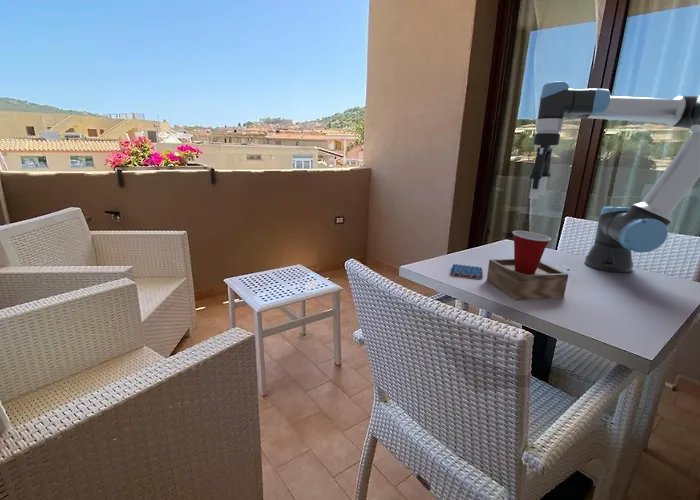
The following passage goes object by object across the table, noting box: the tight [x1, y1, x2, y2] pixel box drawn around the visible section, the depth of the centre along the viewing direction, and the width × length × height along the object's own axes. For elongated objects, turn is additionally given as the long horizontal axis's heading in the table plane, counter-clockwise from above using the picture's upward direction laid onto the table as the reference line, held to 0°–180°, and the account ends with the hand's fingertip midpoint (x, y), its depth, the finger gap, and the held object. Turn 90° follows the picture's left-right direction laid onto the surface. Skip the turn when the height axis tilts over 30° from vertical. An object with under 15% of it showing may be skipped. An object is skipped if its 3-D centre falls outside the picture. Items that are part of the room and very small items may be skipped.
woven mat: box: [450, 263, 484, 280], centre depth 128 cm, size 10×11×2 cm
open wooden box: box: [486, 258, 569, 301], centre depth 114 cm, size 16×16×8 cm
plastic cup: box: [512, 230, 552, 274], centre depth 111 cm, size 11×11×12 cm
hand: (537, 196), depth 127 cm, fingers open, 13 cm apart
